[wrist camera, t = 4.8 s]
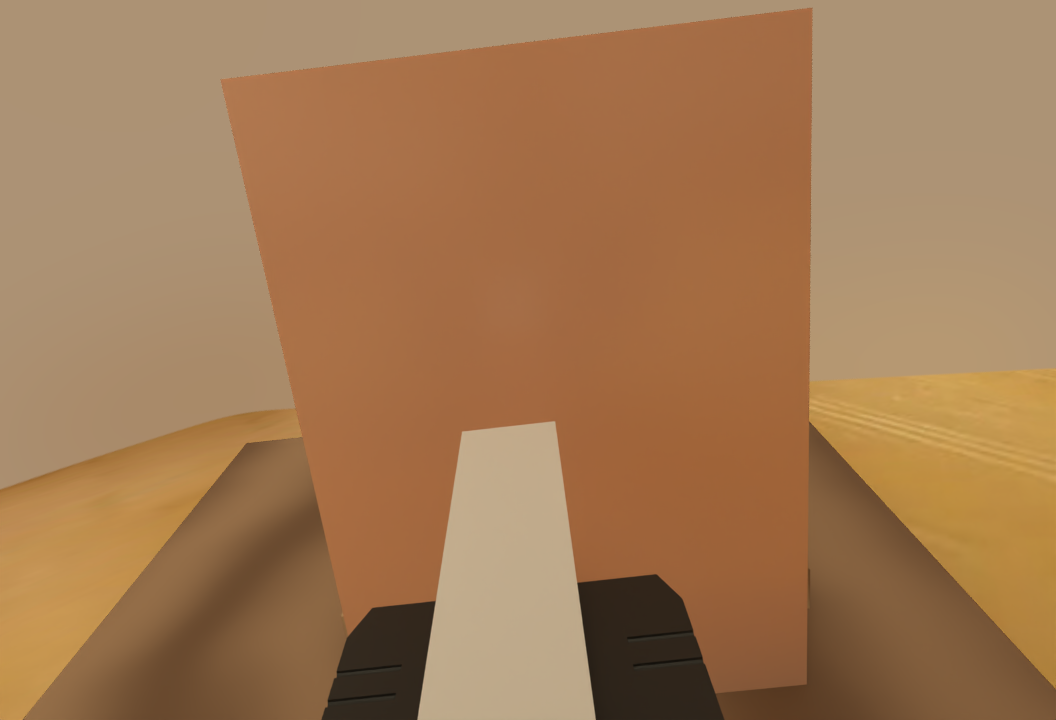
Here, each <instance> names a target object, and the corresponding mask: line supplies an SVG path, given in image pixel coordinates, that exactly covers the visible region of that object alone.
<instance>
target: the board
mask: <svg viewBox="0 0 1056 720" xmlns="http://www.w3.org/2000/svg"><path fill="white" fill-rule="evenodd" d="M347 637H348V634H347V629H346V625H345V621H344V616H343V612H342V607H341V603H340V599H339V594H338V590H337V586H336V581H335V577H334V573H333V568H332V564H331V559H330V555H329V551H328V546H327V542H326V538H325V533H324V529H323V525H322V520H321V516H320V511H319V507H318V503H317V498H316V494H315V490H314V485H313V481H312V477H311V472H310V468H309V463H308V459H307V455H306V450H305V446H304V442H303V437H300V438H291V439H282V440H272V441H263V442H254V443H247V444H246V445H245V446H244V447H243V448H242V450H241V451H240V452H239V453H238V455H237V456H236V457H235V458H234V460H233V461H232V462H231V463H230V464H229V466H228V467H227V468H226V469H225V471H224V472H223V473H222V474H221V476H220V477H219V478H218V479H217V481H216V482H215V483H214V484H213V485H212V487H211V488H210V489H209V490H208V492H207V493H206V494H205V495H204V497H203V498H202V499H201V500H200V502H199V503H198V504H197V505H196V506H195V508H194V509H193V510H192V511H191V513H190V514H189V515H188V516H187V518H186V519H185V520H184V521H183V522H182V524H181V525H180V526H179V527H178V529H177V530H176V531H175V532H174V534H173V535H172V536H171V537H170V539H169V540H168V541H167V542H166V543H165V545H164V546H163V547H162V548H161V550H160V551H159V552H158V553H157V555H156V556H155V557H154V558H153V560H152V561H151V562H150V563H149V564H148V566H147V567H146V568H145V569H144V571H143V572H142V573H141V574H140V576H139V577H138V578H137V579H136V581H135V582H134V583H133V584H132V585H131V587H130V588H129V589H128V590H127V592H126V593H125V594H124V595H123V597H122V598H121V599H120V600H119V601H118V603H117V604H116V605H115V606H114V608H113V609H112V610H111V611H110V613H109V614H108V615H107V616H106V618H105V619H104V620H103V621H102V622H101V624H100V625H99V626H98V627H97V629H96V630H95V631H94V632H93V634H92V635H91V636H90V637H89V639H88V640H87V641H86V642H85V643H84V645H83V646H82V647H81V648H80V650H79V651H78V652H77V653H76V655H75V656H74V657H73V658H72V659H71V661H70V662H69V663H68V664H67V666H66V667H65V668H64V669H63V671H62V672H61V673H60V674H59V676H58V677H57V678H56V679H55V680H54V682H53V683H52V684H51V685H50V687H49V688H48V689H47V690H46V692H45V693H44V694H43V695H42V697H41V698H40V699H39V700H38V701H37V703H36V704H35V705H34V706H33V708H32V709H31V710H30V711H29V713H28V714H27V715H26V716H25V718H24V719H23V720H321V719H322V716H323V713H324V709H325V707H327V706H328V701H327V700H328V697H329V693H330V690H331V687H332V684H333V681H334V678H336V677H337V672H336V671H337V668H338V665H339V661H340V658H341V655H342V652H343V649H344V645H345V642H346V639H347ZM715 694H716V697H717V700H718V703H719V705H720V708H721V711H722V714H723V717H724V720H1056V689H1055V688H1054V687H1053V686H1052V685H1051V684H1050V683H1049V682H1048V681H1047V680H1046V679H1045V677H1044V676H1043V675H1042V674H1041V673H1040V672H1039V671H1038V670H1037V669H1036V668H1035V667H1034V665H1033V664H1032V663H1031V662H1030V661H1029V660H1028V659H1027V658H1026V657H1025V656H1024V655H1023V654H1022V652H1021V651H1020V650H1019V649H1018V648H1017V647H1016V646H1015V645H1014V644H1013V643H1012V642H1011V640H1010V639H1009V638H1008V637H1007V636H1006V635H1005V634H1004V633H1003V632H1002V631H1001V630H1000V628H999V627H998V626H997V625H996V624H995V623H994V622H993V621H992V620H991V619H990V618H989V617H988V615H987V614H986V613H985V612H984V611H983V610H982V609H981V608H980V607H979V606H978V605H977V603H976V602H975V601H974V600H973V599H972V598H971V597H970V596H969V595H968V594H967V593H966V592H965V590H964V589H963V588H962V587H961V586H960V585H959V584H958V583H957V582H956V581H955V580H954V578H953V577H952V576H951V575H950V574H949V573H948V572H947V571H946V570H945V569H944V568H943V566H942V565H941V564H940V563H939V562H938V561H937V560H936V559H935V558H934V557H933V556H932V555H931V553H930V552H929V551H928V550H927V549H926V548H925V547H924V546H923V545H922V544H921V543H920V541H919V540H918V539H917V538H916V537H915V536H914V535H913V534H912V533H911V532H910V531H909V530H908V528H907V527H906V526H905V525H904V524H903V523H902V522H901V521H900V520H899V519H898V518H897V516H896V515H895V514H894V513H893V512H892V511H891V510H890V509H889V508H888V507H887V506H886V504H885V503H884V502H883V501H882V500H881V499H880V498H879V497H878V496H877V495H876V494H875V493H874V491H873V490H872V489H871V488H870V487H869V486H868V485H867V484H866V483H865V482H864V481H863V479H862V478H861V477H860V476H859V475H858V474H857V473H856V472H855V471H854V470H853V469H852V468H851V466H850V465H849V464H848V463H847V462H846V461H845V460H844V459H843V458H842V457H841V456H840V454H839V453H838V452H837V451H836V450H835V449H834V448H833V447H832V446H831V445H830V444H829V442H828V441H827V440H826V439H825V438H824V437H823V436H822V435H821V434H820V433H819V432H818V431H817V429H816V428H815V427H814V426H813V425H812V424H811V423H810V422H809V480H808V599H807V684H806V685H796V686H786V687H775V688H765V689H755V690H745V691H735V692H724V693H715Z"/></svg>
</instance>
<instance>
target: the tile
mask: <svg viewBox="0 0 1056 720" xmlns="http://www.w3.org/2000/svg"><path fill="white" fill-rule="evenodd" d="M221 83H222V88H223V93H224V97H225V101H226V105H227V109H228V114H229V119H230V123H231V128H232V132H233V136H234V140H235V145H236V149H237V154H238V158H239V163H240V167H241V171H242V176H243V180H244V184H245V189H246V193H247V197H248V202H249V206H250V210H251V215H252V219H253V224H254V228H255V232H256V237H257V241H258V245H259V250H260V254H261V258H262V263H263V267H264V272H265V276H266V280H267V285H268V289H269V293H270V298H271V302H272V306H273V311H274V315H275V319H276V324H277V328H278V332H279V337H280V341H281V346H282V350H283V354H284V359H285V363H286V367H287V372H288V376H289V381H290V385H291V389H292V393H293V398H294V402H295V407H296V411H297V416H298V420H299V424H300V429H301V433H302V437H303V442H304V446H305V450H306V455H307V459H308V463H309V468H310V472H311V477H312V481H313V485H314V490H315V494H316V498H317V503H318V507H319V511H320V516H321V520H322V525H323V529H324V533H325V538H326V542H327V546H328V551H329V555H330V559H331V564H332V568H333V573H334V577H335V581H336V586H337V590H338V594H339V599H340V603H341V607H342V612H343V616H344V621H345V625H346V629H347V634H348V636H349V635H350V633H351V632H352V631H353V630H354V629H355V628H356V626H357V625H358V624H359V623H360V622H361V620H362V619H363V618H364V617H365V616H366V615H367V613H368V612H369V611H370V610H371V609H372V608H375V607H384V606H393V605H403V604H412V603H421V602H430V601H436V597H437V590H438V584H439V577H440V571H441V565H442V558H443V552H444V545H445V539H446V532H447V526H448V519H449V513H450V507H451V500H452V494H453V487H454V481H455V474H456V468H457V462H458V455H459V449H460V442H461V436H462V432H463V431H472V430H481V429H490V428H499V427H508V426H516V425H525V424H534V423H543V422H552V421H555V424H556V432H557V439H558V446H559V454H560V461H561V468H562V476H563V483H564V490H565V498H566V505H567V512H568V520H569V527H570V534H571V542H572V549H573V556H574V564H575V571H576V578H577V583H579V582H588V581H597V580H607V579H616V578H625V577H634V576H643V575H653V574H657V575H658V576H659V577H660V578H661V579H662V580H663V581H664V582H665V583H666V584H668V585H669V586H670V587H671V588H672V589H673V590H674V591H675V592H676V593H677V594H678V595H679V596H680V597H681V598H682V599H683V602H684V604H685V607H686V610H687V613H688V616H689V619H690V622H691V625H692V628H693V632H694V636H696V639H697V642H698V645H699V648H700V651H701V654H702V656H703V662H704V664H705V665H706V668H707V671H708V674H709V677H710V679H711V682H712V685H713V688H714V691H715V693H724V692H735V691H745V690H755V689H765V688H775V687H786V686H796V685H806V684H807V599H808V480H809V359H810V356H809V355H810V242H811V240H810V237H811V233H810V232H811V123H812V120H811V118H812V8H807V9H797V10H789V11H782V12H773V13H764V14H756V15H749V16H740V17H733V18H732V17H731V18H724V19H716V20H707V21H698V22H690V23H682V24H674V25H665V26H657V27H649V28H641V29H633V30H624V31H616V32H608V33H600V34H591V35H583V36H575V37H567V38H559V39H550V40H542V41H534V42H525V43H517V44H509V45H501V46H492V47H484V48H476V49H468V50H460V51H452V52H443V53H435V54H427V55H418V56H410V57H402V58H394V59H386V60H377V61H369V62H361V63H353V64H344V65H336V66H328V67H320V68H311V69H303V70H295V71H286V72H279V73H270V74H263V75H253V76H245V77H237V78H229V79H221Z"/></svg>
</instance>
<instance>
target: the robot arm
mask: <svg viewBox="0 0 1056 720" xmlns="http://www.w3.org/2000/svg"><path fill="white" fill-rule="evenodd" d="M336 672H337V677H336V678H334V681H333V684H332V687H331V690H330V693H329V697H328V700H327V701H328V706H327V707H325V709H324V713H323V716H322V719H321V720H724V717H723V714H722V711H721V708H720V705H719V703H718V700H717V697H716V694H715V691H714V688H713V685H712V682H711V679H710V677H709V674H708V671H707V668H706V665H705V664H704V662H703V656H702V654H701V651H700V648H699V645H698V642H697V639H696V636H694V632H693V628H692V625H691V622H690V619H689V616H688V613H687V610H686V607H685V604H684V602H683V599H682V598H681V597H680V596H679V595H678V594H677V593H676V592H675V591H674V590H673V589H672V588H671V587H670V586H669V585H668V584H666V583H665V582H664V581H663V580H662V579H661V578H660V577H659V576H658V575H657V574H653V575H643V576H634V577H625V578H616V579H607V580H597V581H588V582H579V583H577V578H576V571H575V564H574V556H573V549H572V542H571V534H570V527H569V520H568V512H567V505H566V498H565V490H564V483H563V476H562V468H561V461H560V454H559V446H558V439H557V432H556V424H555V421H552V422H543V423H534V424H525V425H516V426H508V427H499V428H490V429H481V430H472V431H463V432H462V436H461V442H460V449H459V455H458V462H457V468H456V474H455V481H454V487H453V494H452V500H451V507H450V513H449V519H448V526H447V532H446V539H445V545H444V552H443V558H442V565H441V571H440V577H439V584H438V590H437V597H436V601H430V602H421V603H412V604H403V605H393V606H384V607H375V608H372V609H371V610H370V611H369V612H368V613H367V615H366V616H365V617H364V618H363V619H362V620H361V622H360V623H359V624H358V625H357V626H356V628H355V629H354V630H353V631H352V632H351V633H350V635H349V636H348V637H347V639H346V642H345V645H344V649H343V652H342V655H341V658H340V661H339V665H338V668H337V671H336Z"/></svg>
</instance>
